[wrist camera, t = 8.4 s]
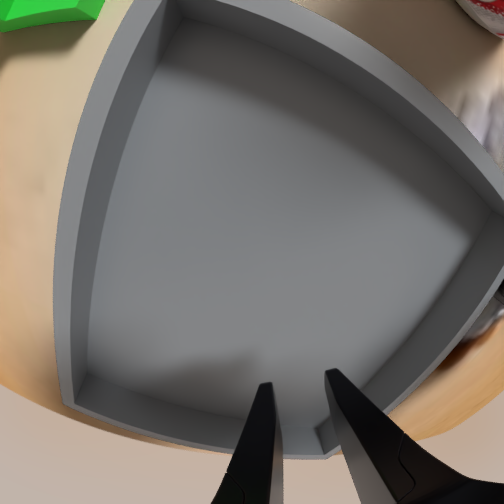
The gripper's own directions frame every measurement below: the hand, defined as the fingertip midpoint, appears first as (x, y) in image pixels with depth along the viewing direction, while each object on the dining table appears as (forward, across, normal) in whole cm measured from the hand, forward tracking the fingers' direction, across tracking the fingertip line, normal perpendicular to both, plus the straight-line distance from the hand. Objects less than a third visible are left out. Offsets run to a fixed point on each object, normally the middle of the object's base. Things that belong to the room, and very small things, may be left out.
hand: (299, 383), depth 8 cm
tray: (+4, 0, 0) cm, 4 cm away
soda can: (+5, -13, -16) cm, 21 cm away
